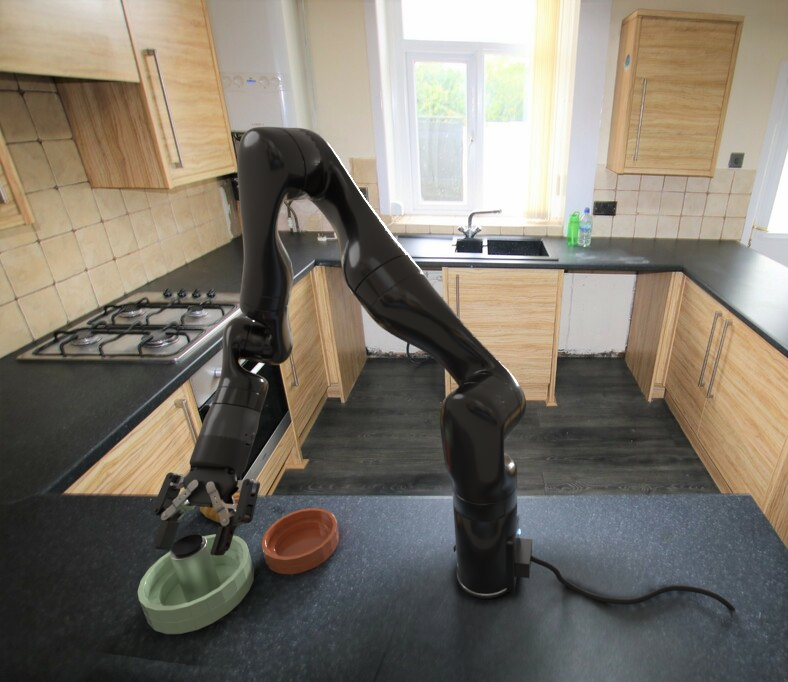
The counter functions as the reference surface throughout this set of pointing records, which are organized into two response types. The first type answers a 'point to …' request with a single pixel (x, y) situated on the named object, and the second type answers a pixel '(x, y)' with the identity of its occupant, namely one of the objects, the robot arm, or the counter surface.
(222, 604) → the bowl
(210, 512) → the pastry
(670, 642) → the counter surface
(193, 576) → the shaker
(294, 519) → the bowl
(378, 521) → the counter surface
